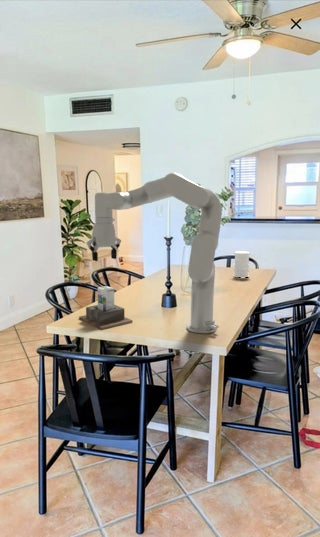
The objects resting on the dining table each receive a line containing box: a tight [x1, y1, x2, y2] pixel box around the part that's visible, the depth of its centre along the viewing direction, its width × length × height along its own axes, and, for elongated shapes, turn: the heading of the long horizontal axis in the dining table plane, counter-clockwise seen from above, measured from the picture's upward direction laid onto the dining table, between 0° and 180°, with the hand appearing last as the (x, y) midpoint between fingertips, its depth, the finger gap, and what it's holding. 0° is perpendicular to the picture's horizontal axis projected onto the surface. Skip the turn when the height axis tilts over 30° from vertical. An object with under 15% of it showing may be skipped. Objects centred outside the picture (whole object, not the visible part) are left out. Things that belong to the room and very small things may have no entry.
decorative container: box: [232, 250, 251, 278], centre depth 279 cm, size 12×12×18 cm
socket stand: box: [78, 304, 133, 330], centre depth 178 cm, size 20×16×6 cm
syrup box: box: [97, 285, 115, 311], centre depth 177 cm, size 6×6×14 cm
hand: (104, 259), depth 173 cm, fingers open, 9 cm apart
